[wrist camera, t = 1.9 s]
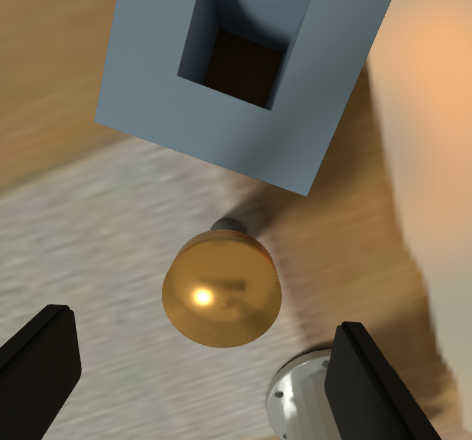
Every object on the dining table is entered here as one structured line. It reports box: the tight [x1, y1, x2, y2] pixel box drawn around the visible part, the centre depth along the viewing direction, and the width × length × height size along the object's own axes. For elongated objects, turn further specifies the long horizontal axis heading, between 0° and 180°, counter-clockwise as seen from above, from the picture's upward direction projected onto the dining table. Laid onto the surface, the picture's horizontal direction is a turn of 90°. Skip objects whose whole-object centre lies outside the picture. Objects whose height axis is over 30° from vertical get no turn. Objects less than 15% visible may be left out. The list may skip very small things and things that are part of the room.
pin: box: [162, 218, 282, 348], centre depth 18 cm, size 6×6×9 cm
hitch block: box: [94, 0, 391, 197], centre depth 15 cm, size 11×11×7 cm
